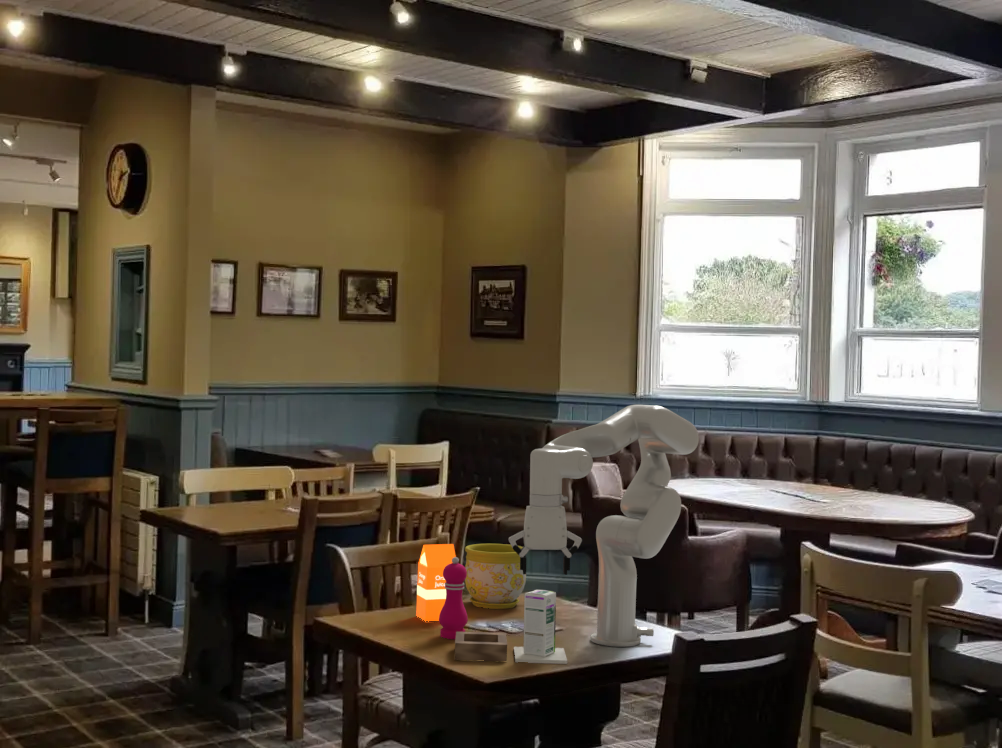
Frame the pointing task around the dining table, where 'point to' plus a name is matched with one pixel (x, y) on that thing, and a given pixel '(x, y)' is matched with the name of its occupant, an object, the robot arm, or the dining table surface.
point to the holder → (481, 646)
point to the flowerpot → (494, 575)
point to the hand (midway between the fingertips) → (544, 573)
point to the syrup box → (539, 622)
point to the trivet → (553, 658)
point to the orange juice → (432, 580)
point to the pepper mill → (453, 601)
